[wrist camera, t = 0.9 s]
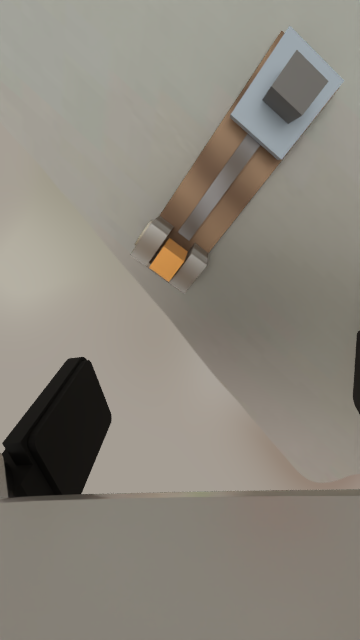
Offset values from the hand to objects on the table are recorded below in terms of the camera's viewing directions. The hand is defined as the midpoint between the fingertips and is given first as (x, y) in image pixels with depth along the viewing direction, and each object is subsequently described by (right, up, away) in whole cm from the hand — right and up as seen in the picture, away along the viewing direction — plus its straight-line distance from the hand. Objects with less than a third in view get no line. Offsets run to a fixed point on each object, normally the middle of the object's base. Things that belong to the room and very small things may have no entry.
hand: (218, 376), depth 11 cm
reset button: (-2, +9, +22) cm, 24 cm away
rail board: (+4, +18, +22) cm, 29 cm away
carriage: (+8, +22, +16) cm, 28 cm away
